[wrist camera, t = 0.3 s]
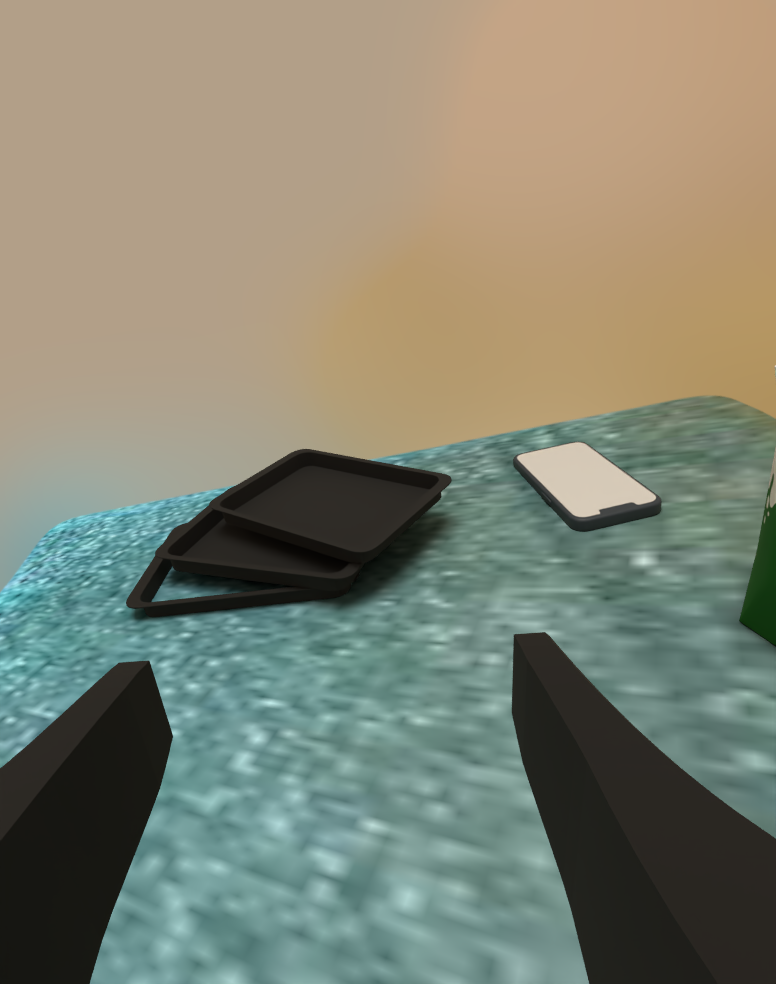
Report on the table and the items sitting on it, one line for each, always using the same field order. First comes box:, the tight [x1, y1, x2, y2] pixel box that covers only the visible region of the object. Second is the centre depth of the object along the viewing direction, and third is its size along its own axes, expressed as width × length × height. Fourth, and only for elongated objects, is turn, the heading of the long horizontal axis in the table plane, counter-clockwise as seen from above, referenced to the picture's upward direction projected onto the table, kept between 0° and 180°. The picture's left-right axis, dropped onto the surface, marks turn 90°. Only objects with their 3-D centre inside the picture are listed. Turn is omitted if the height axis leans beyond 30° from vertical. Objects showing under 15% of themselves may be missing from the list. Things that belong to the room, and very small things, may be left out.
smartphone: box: [513, 442, 661, 531], centre depth 58 cm, size 9×2×16 cm
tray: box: [126, 449, 451, 617], centre depth 55 cm, size 30×23×5 cm
